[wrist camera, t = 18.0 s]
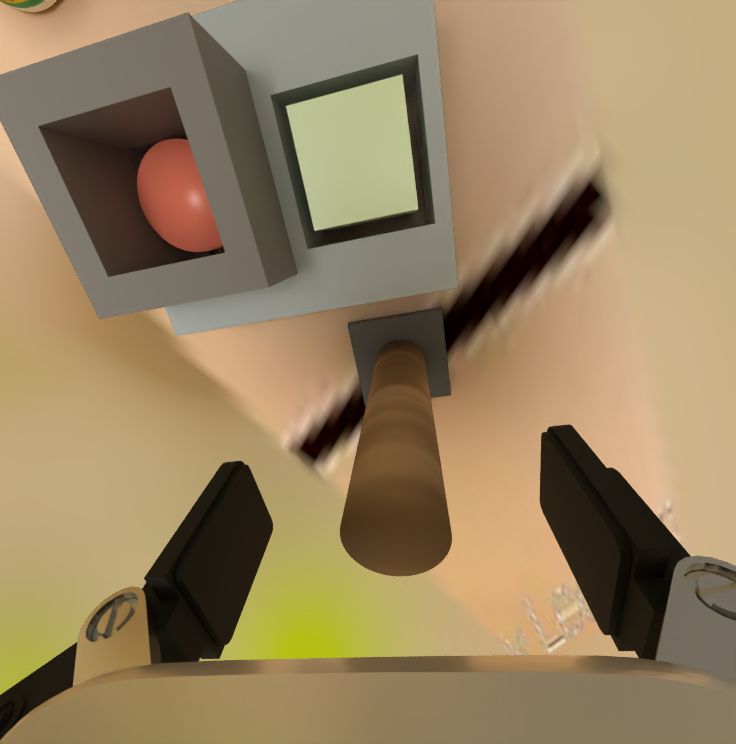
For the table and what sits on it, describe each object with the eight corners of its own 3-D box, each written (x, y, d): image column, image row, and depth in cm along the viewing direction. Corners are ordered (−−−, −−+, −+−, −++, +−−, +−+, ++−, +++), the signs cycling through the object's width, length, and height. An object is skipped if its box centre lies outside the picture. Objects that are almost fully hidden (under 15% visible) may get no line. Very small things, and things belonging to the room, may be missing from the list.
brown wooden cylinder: (372, 343, 22) (328, 499, 9) (420, 335, 22) (444, 488, 9) (381, 387, 23) (353, 578, 11) (427, 380, 23) (457, 573, 10)
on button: (315, 136, 18) (285, 106, 13) (401, 114, 17) (402, 74, 13) (334, 229, 20) (314, 230, 15) (413, 212, 19) (418, 209, 14)
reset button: (187, 170, 19) (119, 152, 14) (261, 151, 18) (214, 126, 14) (215, 252, 21) (162, 260, 16) (283, 238, 20) (249, 241, 15)
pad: (348, 322, 22) (347, 325, 22) (440, 307, 22) (441, 309, 21) (366, 401, 25) (365, 406, 24) (449, 391, 24) (450, 395, 23)
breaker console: (144, 100, 19) (-60, -1, 10) (420, 18, 16) (440, -193, 8) (221, 314, 23) (121, 363, 15) (445, 274, 21) (475, 306, 13)
